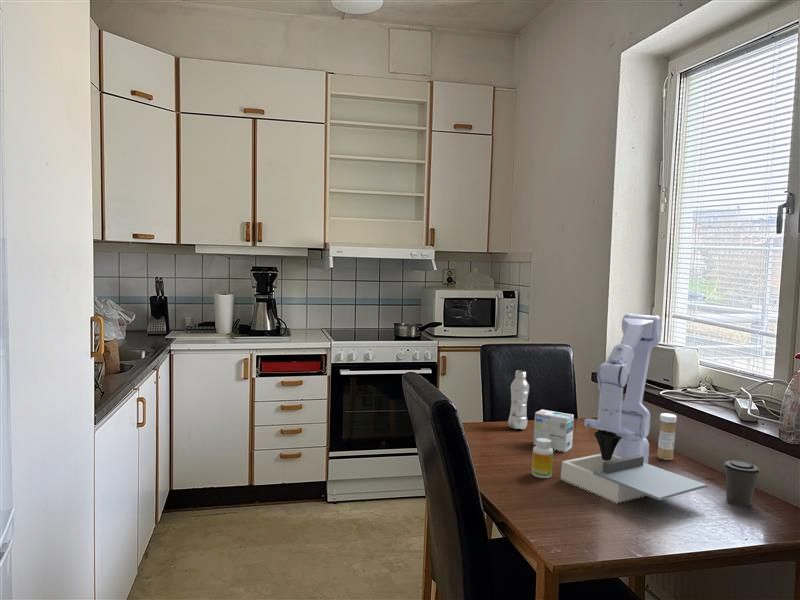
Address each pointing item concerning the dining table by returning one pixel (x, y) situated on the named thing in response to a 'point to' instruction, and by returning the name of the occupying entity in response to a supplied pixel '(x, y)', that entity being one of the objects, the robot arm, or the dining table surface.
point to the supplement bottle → (542, 458)
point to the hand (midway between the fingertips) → (606, 459)
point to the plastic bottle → (519, 401)
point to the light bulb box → (554, 429)
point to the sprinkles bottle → (666, 436)
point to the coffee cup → (740, 481)
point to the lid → (647, 478)
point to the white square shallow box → (595, 479)
